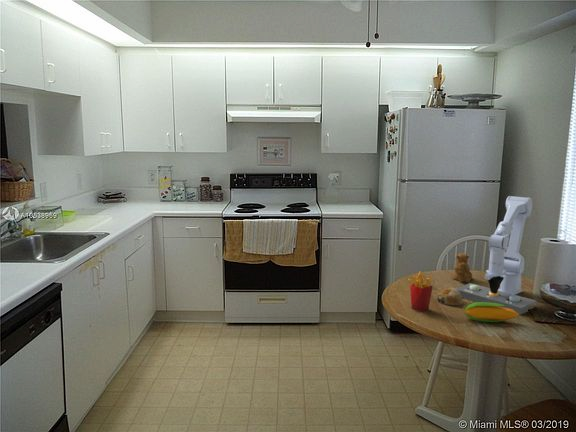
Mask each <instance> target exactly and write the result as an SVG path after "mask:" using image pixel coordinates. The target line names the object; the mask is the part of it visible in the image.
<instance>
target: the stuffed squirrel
mask: <svg viewBox="0 0 576 432" xmlns="http://www.w3.org/2000/svg"><path fill="white" fill-rule="evenodd" d="M469 258H470V254H466V253H463V252H461V253H459V254H455V258H454V260H456V263H457V264H454V265H453V267H454V268H453V269H454V272H453V273H451V274H450V277H451V278H452V279H453V280H455V281H459V282H461V283H464V284H465V283H467V284H469V283H470V281H471V280H472V279H473V274H472V272H471V271H470V266H469V265H468V259H469Z"/></svg>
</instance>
